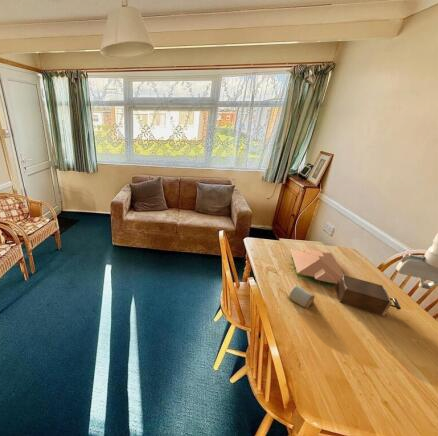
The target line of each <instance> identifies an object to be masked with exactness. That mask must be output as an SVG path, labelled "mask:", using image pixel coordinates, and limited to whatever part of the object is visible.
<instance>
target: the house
mask: <svg viewBox="0 0 438 436" xmlns="http://www.w3.org/2000/svg"><path fill="white" fill-rule="evenodd" d="M303 250H304V251H303ZM303 250H297V249H291V248H290V252H291V256H292V257H291V260H292V259H293V261H292V263H294V264H293V267H295V268H296V269H295V268H294V271H296V272H295V275H296V274H297V275H296V278H297V277H298V278H301V279H303V280H304V278H305V279H306V280H307V281H312V282H317V283H319V285H322V286H323V285H325V286H326V287H331V288H333V287H334V286H335V287H337V286H338V284H339V282H340V280H341V278H342V275H345V274H344V273H343V271H342V269H341V267H340V265H339V263H338V262H337V260H336V258H335V256H334V254H333V253H332V252H327V251H321V250H316V249H311V248H305V247H304V248H303ZM321 283H322V284H321Z"/></svg>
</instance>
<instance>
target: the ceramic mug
mask: <svg viewBox="0 0 438 436" xmlns="http://www.w3.org/2000/svg"><path fill="white" fill-rule="evenodd" d="M288 299H289V300H290V301H292V302H294V303H296V304H297V305H299V306H300V307H302V308H305V309H308V308H309V307H310V306H311V305H312V304H313V302H314V300H315V296H314V295H313V294H312V293H311V292H310V291H307V290H306V289H304V288H303V287H301V286H299V285H295V286H294V287H293V288H292V289H291V291H290V292H289V295H288Z"/></svg>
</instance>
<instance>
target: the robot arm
mask: <svg viewBox="0 0 438 436" xmlns="http://www.w3.org/2000/svg"><path fill="white" fill-rule="evenodd" d="M395 268H396V271H397V272H398V273H399V274H400V275H404V276H408V277H413V278H417V279H418V280H419V283H418V287H419V288H422V289H426V290H430V291H431V289H432V288H434V287H436V286H438V232H437V233H436V235H435V237H434V238H433V240H432V245H430V247H428V249H426V251H425V254H424V255H423V256H421V255H415V254H411V253H409V254H404V255H402V257H401V259H400V261H399V263H398V264H397V265H396V266H395ZM426 281H430V282H428V283H426Z"/></svg>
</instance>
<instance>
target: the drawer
mask: <svg viewBox="0 0 438 436" xmlns="http://www.w3.org/2000/svg"><path fill="white" fill-rule="evenodd" d="M383 288H384V290H385V292H386V295H387V297H388V299H389V301H390V302H389V303H388V305H387V307H386V308H385V310H384V312H383V313H382V315H381V316H384V317H385V316H386V314H387V313H388V311H389V309H390V308H391V307H392V308H396V310H401V309H402V307H401V305H400V304H399V302H398V300H397V298H396V297H393V298H392V297H390V296H389V293H388V291H387V290H386V288H385V287H383Z"/></svg>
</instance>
